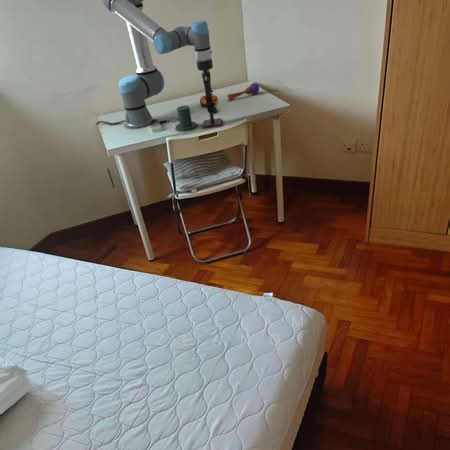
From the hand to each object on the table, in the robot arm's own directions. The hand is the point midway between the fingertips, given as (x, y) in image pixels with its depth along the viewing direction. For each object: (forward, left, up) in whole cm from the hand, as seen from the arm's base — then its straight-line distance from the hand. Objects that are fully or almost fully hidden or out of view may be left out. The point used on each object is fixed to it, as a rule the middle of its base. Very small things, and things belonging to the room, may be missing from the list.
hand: (210, 109), depth 214 cm
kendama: (+18, +41, -8) cm, 45 cm away
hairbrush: (-2, +29, -8) cm, 30 cm away
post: (0, 0, -8) cm, 8 cm away
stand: (-14, 0, -8) cm, 16 cm away
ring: (0, 0, +4) cm, 4 cm away
